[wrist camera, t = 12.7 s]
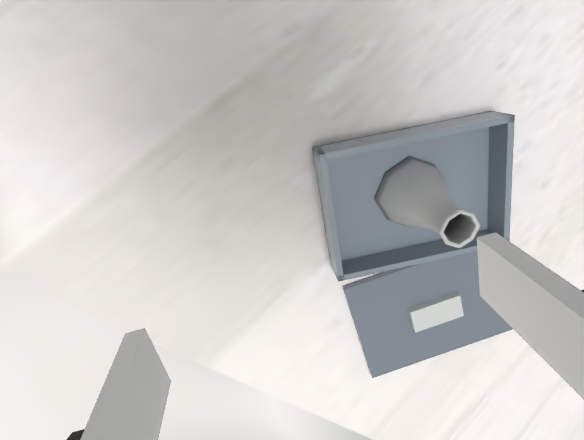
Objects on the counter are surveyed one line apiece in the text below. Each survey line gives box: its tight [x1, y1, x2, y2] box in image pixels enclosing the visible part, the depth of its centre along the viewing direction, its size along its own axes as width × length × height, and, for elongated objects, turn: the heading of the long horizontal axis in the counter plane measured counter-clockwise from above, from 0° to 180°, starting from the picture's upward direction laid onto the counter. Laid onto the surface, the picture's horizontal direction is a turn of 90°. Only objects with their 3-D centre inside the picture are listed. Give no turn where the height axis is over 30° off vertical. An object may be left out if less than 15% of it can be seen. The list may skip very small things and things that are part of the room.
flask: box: [375, 156, 481, 248], centre depth 36 cm, size 7×7×10 cm
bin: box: [313, 111, 515, 281], centre depth 39 cm, size 13×18×4 cm
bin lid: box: [343, 251, 513, 378], centre depth 46 cm, size 14×19×2 cm
